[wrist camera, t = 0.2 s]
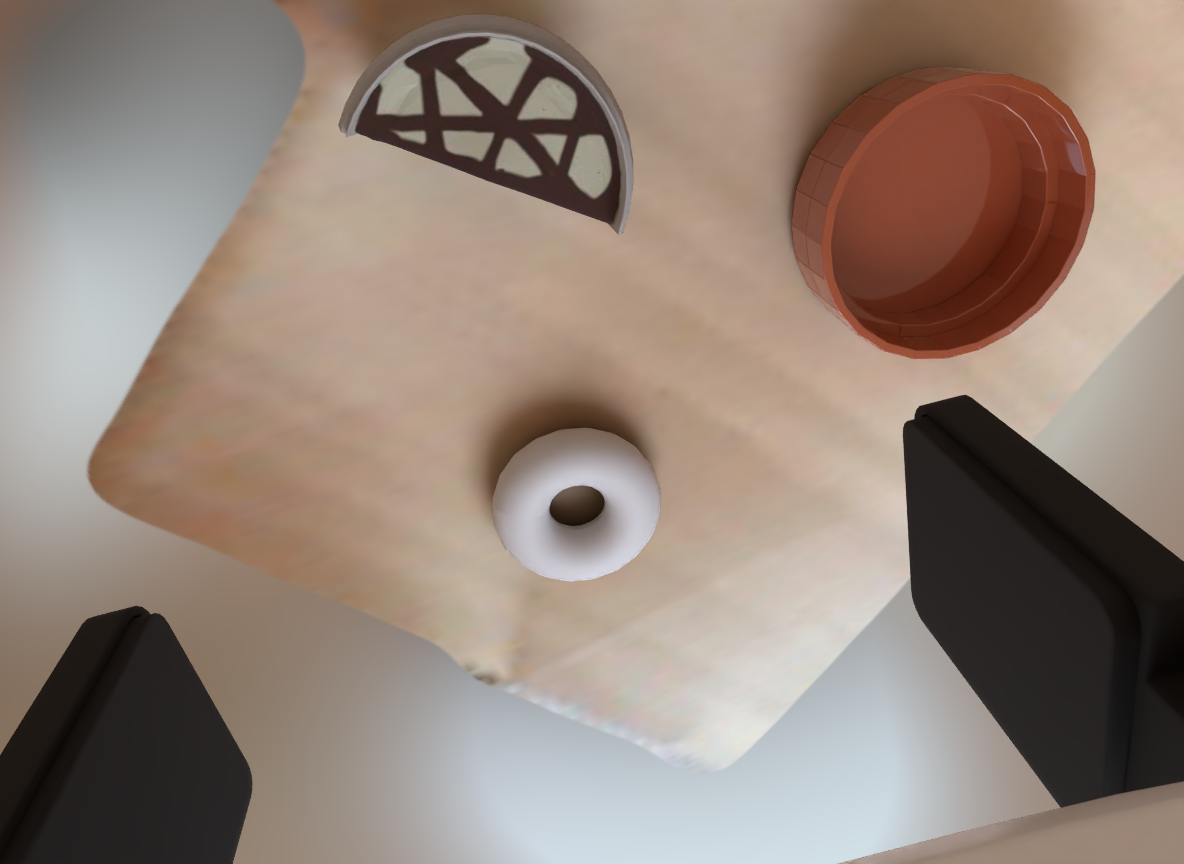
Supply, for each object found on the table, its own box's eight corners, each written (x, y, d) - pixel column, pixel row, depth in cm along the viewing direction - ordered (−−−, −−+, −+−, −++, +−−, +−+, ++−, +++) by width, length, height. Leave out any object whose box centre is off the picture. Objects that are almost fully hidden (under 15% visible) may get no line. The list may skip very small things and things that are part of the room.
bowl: (772, 105, 44) (807, 116, 39) (1037, 36, 44) (1102, 39, 39) (803, 354, 50) (836, 388, 46) (1034, 292, 50) (1089, 320, 46)
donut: (664, 539, 55) (642, 401, 50) (676, 572, 52) (654, 428, 47) (510, 573, 54) (473, 437, 50) (513, 608, 51) (474, 466, 47)
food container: (643, 71, 42) (690, 89, 33) (598, 192, 44) (631, 239, 36) (395, -33, 39) (373, -44, 30) (360, 104, 41) (331, 131, 32)
